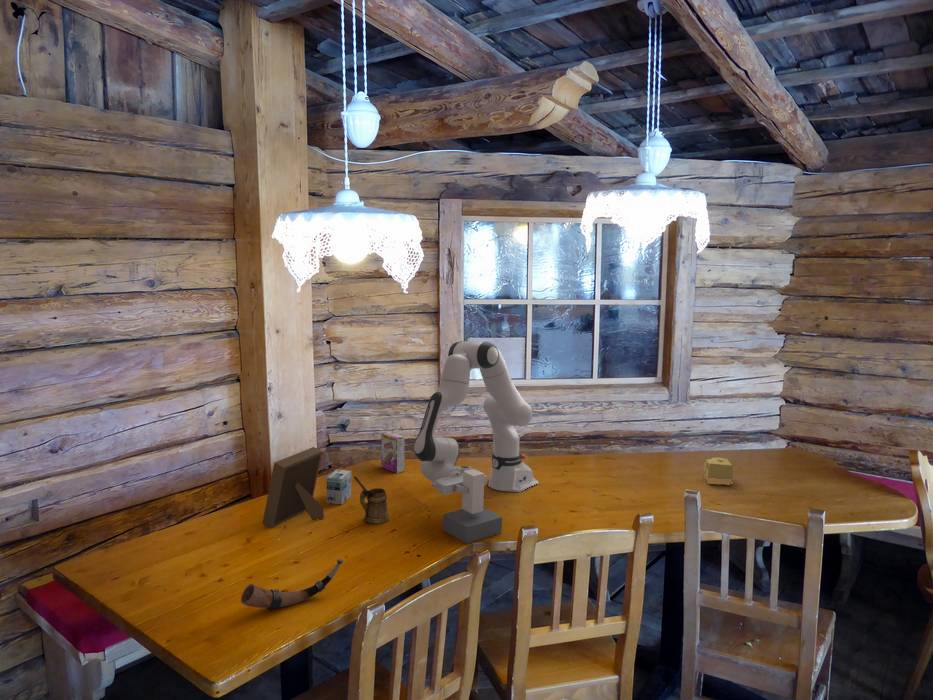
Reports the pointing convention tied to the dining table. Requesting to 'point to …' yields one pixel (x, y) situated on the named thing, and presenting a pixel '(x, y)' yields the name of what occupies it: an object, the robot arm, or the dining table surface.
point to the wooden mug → (374, 504)
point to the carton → (473, 491)
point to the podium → (472, 524)
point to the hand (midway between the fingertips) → (474, 489)
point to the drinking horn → (283, 593)
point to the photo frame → (293, 488)
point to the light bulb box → (338, 486)
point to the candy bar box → (392, 452)
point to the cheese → (718, 468)
